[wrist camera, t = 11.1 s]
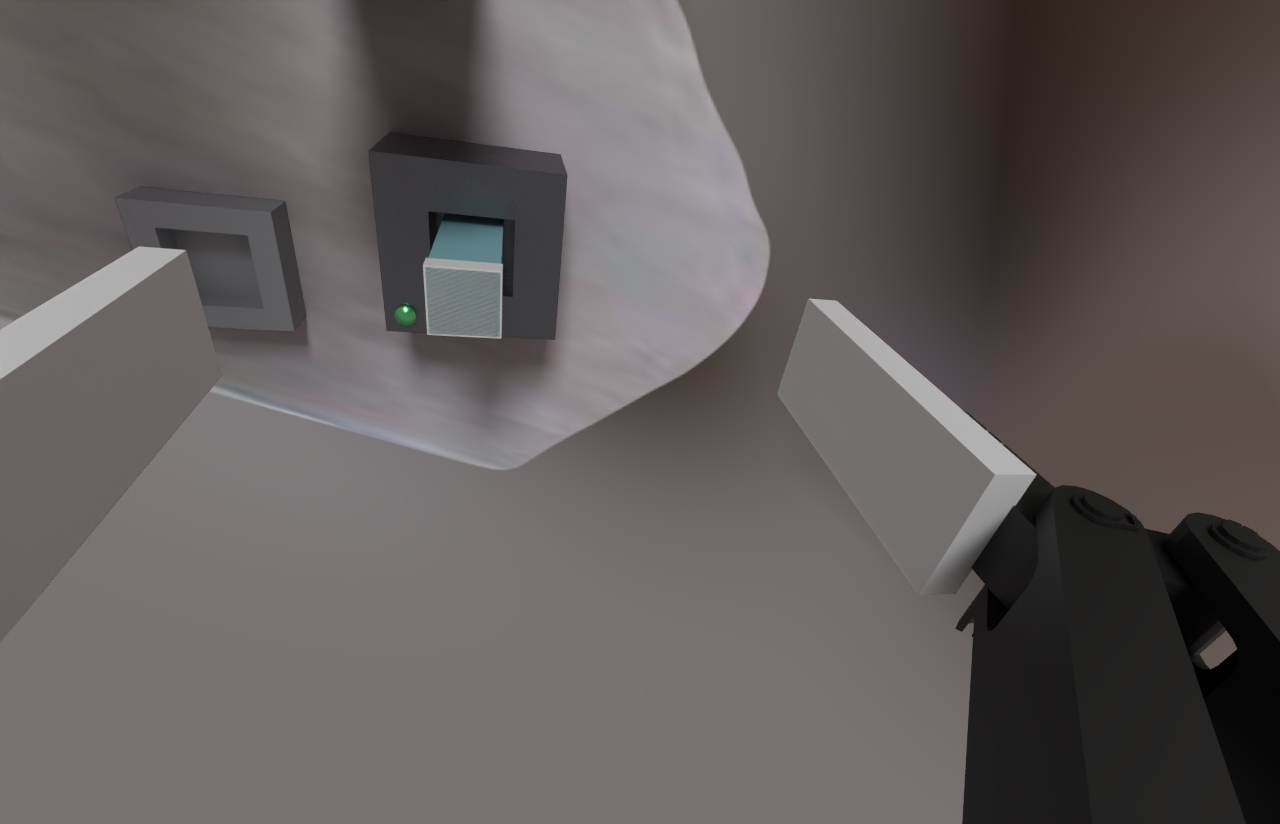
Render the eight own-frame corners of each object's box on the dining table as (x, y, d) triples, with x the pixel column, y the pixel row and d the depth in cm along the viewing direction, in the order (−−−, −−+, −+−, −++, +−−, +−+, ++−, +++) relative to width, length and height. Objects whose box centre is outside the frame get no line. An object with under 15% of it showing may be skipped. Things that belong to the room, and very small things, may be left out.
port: (389, 132, 40) (367, 152, 34) (560, 154, 43) (567, 176, 37) (402, 293, 46) (385, 333, 40) (550, 302, 49) (555, 342, 43)
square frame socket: (139, 186, 39) (114, 197, 37) (285, 201, 41) (270, 212, 39) (177, 307, 44) (157, 324, 42) (306, 315, 46) (294, 331, 44)
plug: (445, 206, 41) (422, 265, 31) (505, 212, 42) (502, 271, 32) (447, 263, 43) (427, 334, 33) (504, 268, 44) (501, 338, 34)
